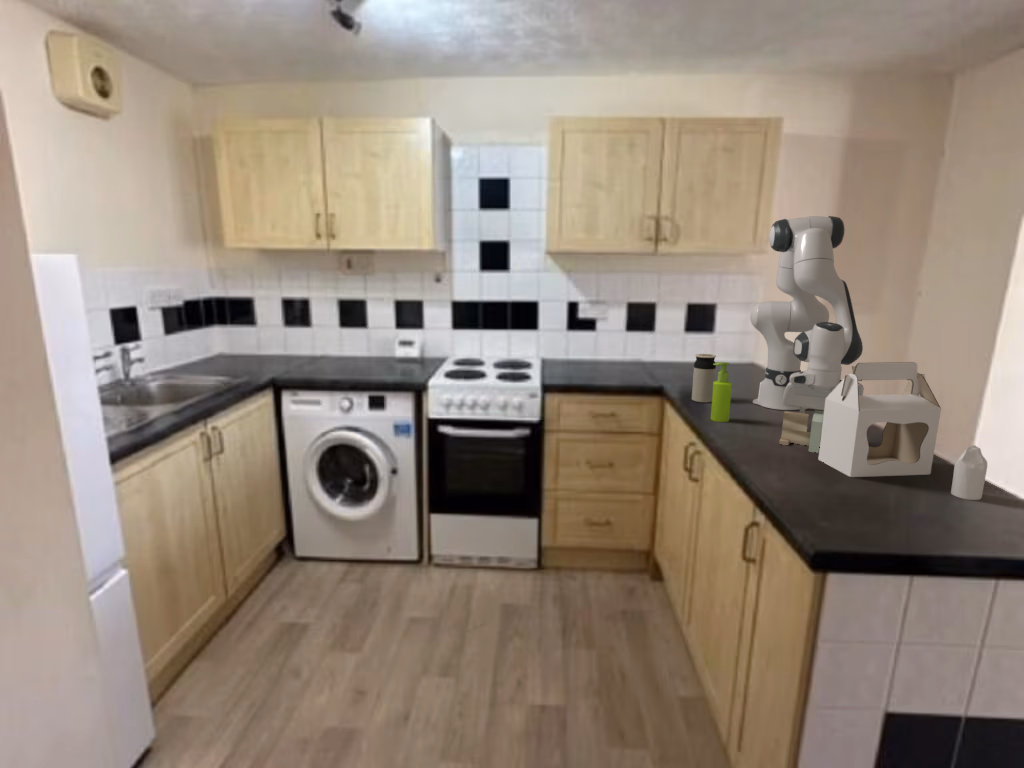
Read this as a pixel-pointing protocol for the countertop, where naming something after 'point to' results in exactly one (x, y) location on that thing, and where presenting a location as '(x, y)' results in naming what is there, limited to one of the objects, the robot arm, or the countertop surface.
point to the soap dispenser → (721, 395)
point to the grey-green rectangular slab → (816, 431)
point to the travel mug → (703, 378)
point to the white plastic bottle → (969, 474)
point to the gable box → (905, 414)
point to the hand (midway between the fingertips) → (817, 423)
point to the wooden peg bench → (795, 429)
